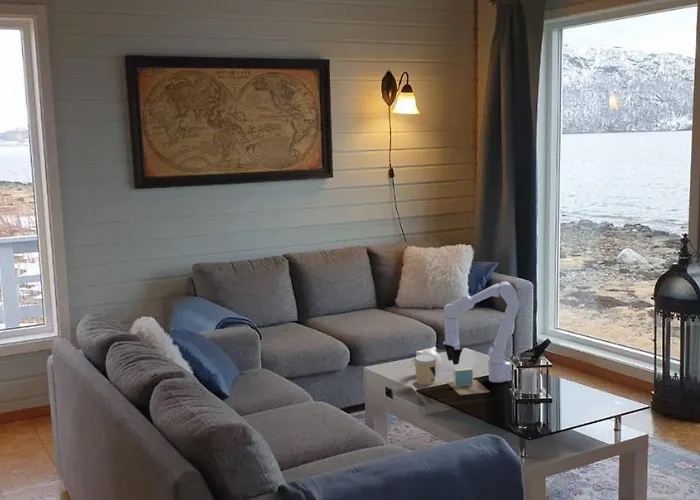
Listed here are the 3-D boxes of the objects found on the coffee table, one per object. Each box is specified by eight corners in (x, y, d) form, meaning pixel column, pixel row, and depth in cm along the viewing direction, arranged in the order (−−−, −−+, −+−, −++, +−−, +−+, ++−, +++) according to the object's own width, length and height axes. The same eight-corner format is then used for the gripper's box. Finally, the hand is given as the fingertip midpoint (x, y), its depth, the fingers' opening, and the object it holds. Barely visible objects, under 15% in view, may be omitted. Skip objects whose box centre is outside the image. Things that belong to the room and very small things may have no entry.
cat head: (426, 381, 351) (425, 354, 350) (407, 376, 362) (405, 350, 361) (451, 374, 360) (449, 348, 359) (431, 369, 371) (430, 344, 369)
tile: (472, 383, 339) (471, 368, 338) (473, 385, 337) (472, 369, 336) (454, 385, 338) (453, 369, 337) (455, 386, 336) (454, 370, 335)
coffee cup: (435, 388, 341) (435, 362, 338) (413, 387, 343) (413, 361, 340) (437, 379, 350) (437, 354, 347) (416, 378, 352) (416, 353, 349)
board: (475, 382, 345) (475, 379, 345) (490, 394, 326) (490, 391, 326) (446, 385, 344) (446, 382, 344) (459, 397, 324) (459, 395, 324)
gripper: (438, 329, 348) (440, 359, 350) (447, 335, 334) (449, 367, 336) (453, 327, 349) (455, 357, 351) (463, 334, 335) (465, 365, 337)
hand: (453, 362), depth 343 cm, fingers open, 7 cm apart
